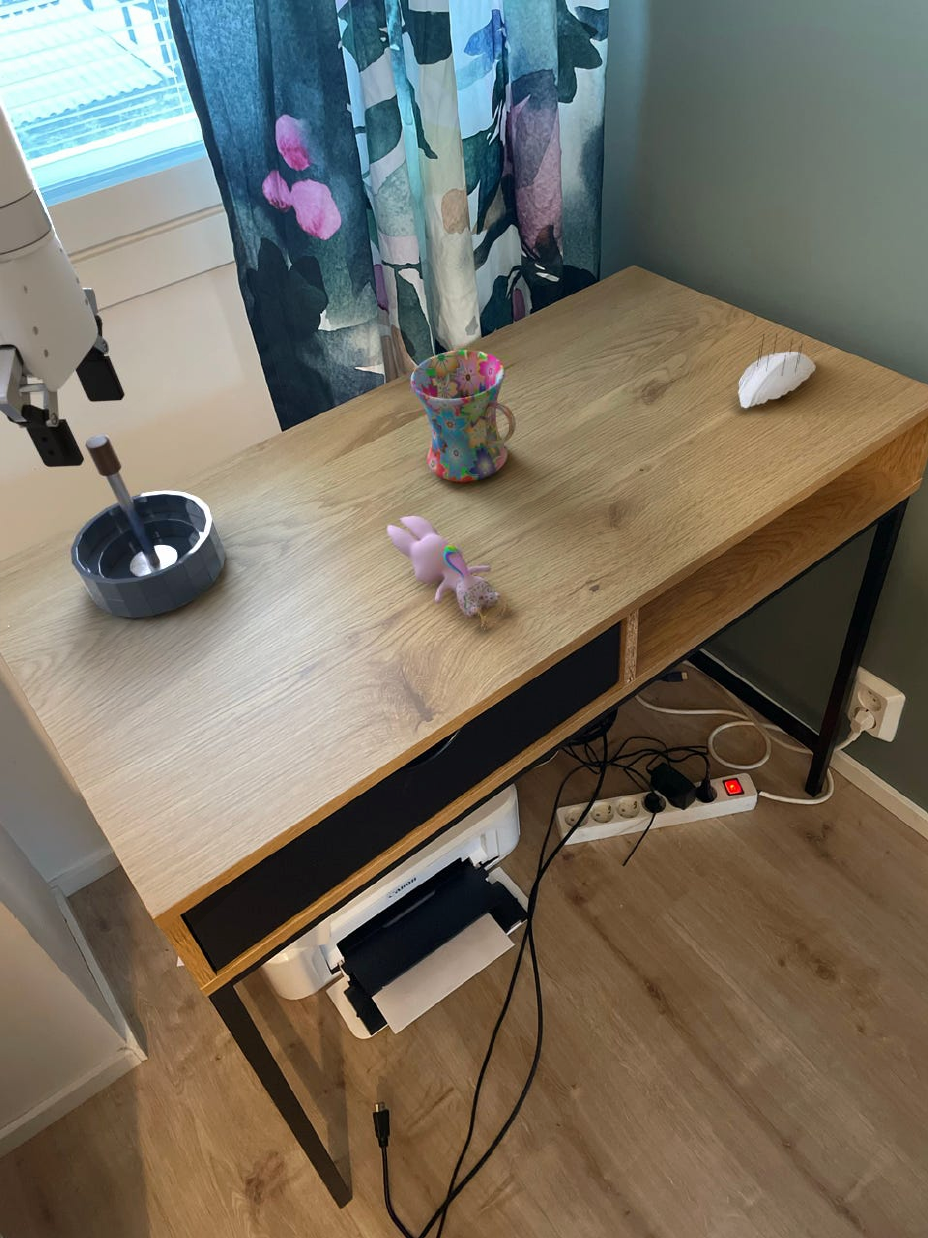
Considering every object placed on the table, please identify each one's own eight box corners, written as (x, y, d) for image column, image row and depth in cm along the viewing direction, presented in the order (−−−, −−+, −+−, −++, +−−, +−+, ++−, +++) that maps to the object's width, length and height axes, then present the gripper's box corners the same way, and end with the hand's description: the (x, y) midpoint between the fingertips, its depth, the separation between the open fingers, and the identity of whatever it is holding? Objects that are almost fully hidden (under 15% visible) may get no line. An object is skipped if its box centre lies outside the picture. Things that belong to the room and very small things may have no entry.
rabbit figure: (522, 614, 81) (421, 519, 88) (526, 571, 76) (419, 474, 83) (469, 650, 78) (369, 549, 85) (469, 608, 73) (363, 505, 80)
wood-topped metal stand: (156, 591, 85) (93, 462, 74) (124, 576, 87) (58, 448, 76) (191, 562, 87) (134, 433, 77) (159, 548, 89) (100, 420, 79)
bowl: (156, 640, 81) (135, 601, 78) (64, 593, 87) (41, 555, 84) (254, 553, 88) (240, 514, 85) (163, 515, 94) (146, 476, 91)
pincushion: (782, 354, 103) (790, 308, 99) (830, 371, 100) (840, 324, 96) (719, 400, 98) (724, 353, 94) (767, 420, 95) (775, 372, 91)
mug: (407, 467, 96) (391, 379, 88) (468, 427, 100) (458, 340, 92) (486, 512, 89) (476, 421, 81) (549, 467, 93) (545, 376, 85)
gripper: (-4, 183, 70) (83, 379, 82) (-120, 280, 58) (2, 494, 70) (87, 175, 69) (161, 375, 81) (-11, 273, 57) (93, 491, 69)
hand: (87, 430), depth 75 cm, fingers open, 9 cm apart
